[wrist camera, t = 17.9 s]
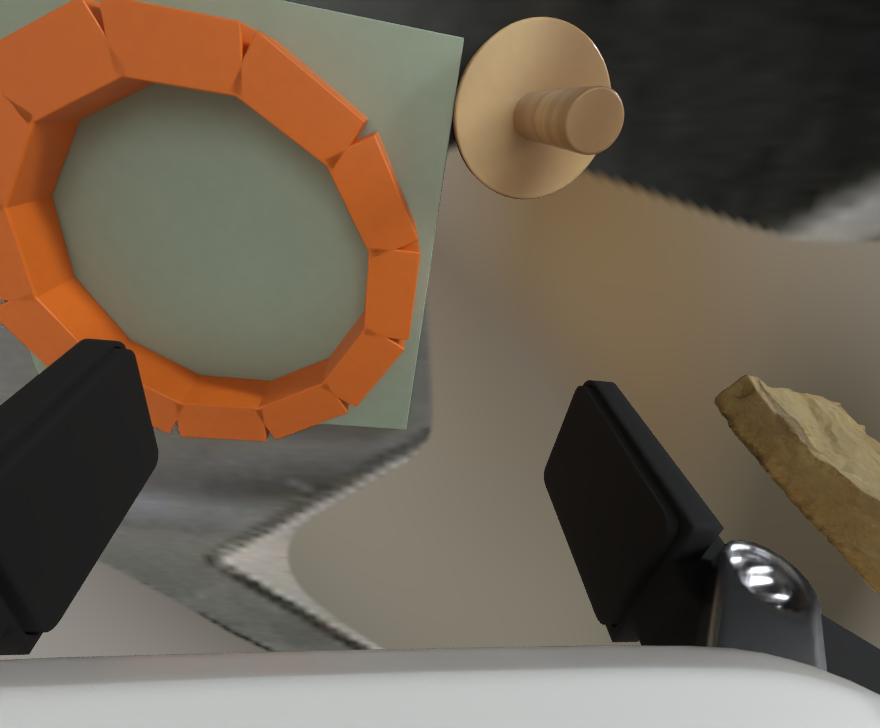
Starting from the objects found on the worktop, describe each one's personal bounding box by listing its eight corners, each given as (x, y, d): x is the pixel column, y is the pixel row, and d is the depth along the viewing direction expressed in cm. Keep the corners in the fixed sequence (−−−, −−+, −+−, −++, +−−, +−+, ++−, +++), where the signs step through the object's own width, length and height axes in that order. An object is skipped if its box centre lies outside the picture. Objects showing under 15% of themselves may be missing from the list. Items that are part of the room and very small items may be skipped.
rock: (679, 432, 24) (732, 548, 27) (906, 470, 16) (937, 622, 20) (757, 315, 28) (794, 429, 31) (965, 305, 21) (982, 454, 24)
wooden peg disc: (441, 183, 18) (462, 222, 12) (467, 4, 15) (511, -59, 9) (574, 204, 19) (654, 249, 13) (623, 38, 16) (754, 1, 10)
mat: (53, 400, 22) (48, 405, 22) (-114, -80, 13) (-128, -85, 13) (406, 425, 25) (406, 429, 25) (462, 39, 16) (464, 37, 16)
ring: (65, 397, 22) (30, 428, 20) (-79, -34, 14) (-164, -58, 12) (395, 420, 24) (395, 449, 22) (440, 66, 16) (445, 60, 14)
